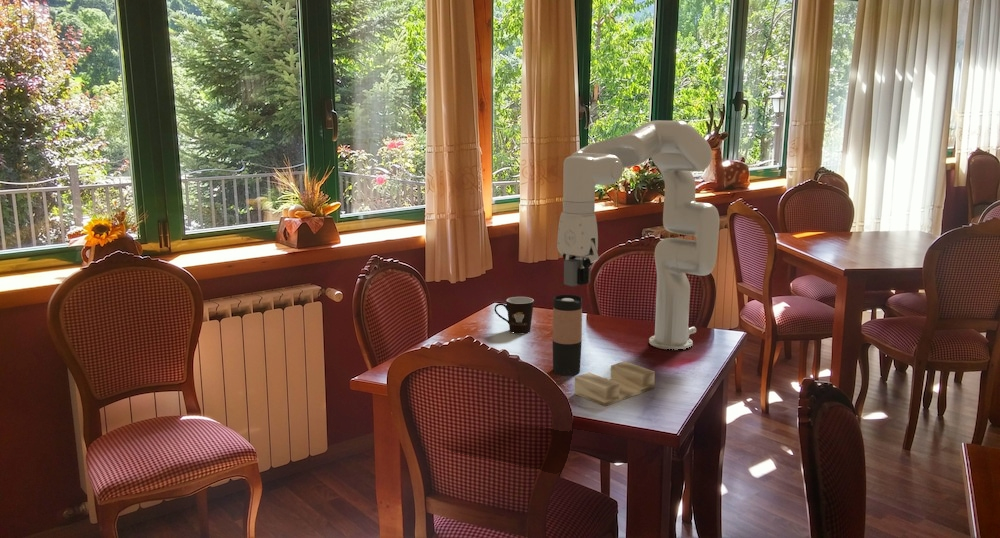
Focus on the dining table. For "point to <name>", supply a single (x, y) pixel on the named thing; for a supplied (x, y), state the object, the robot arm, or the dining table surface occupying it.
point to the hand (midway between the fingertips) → (577, 281)
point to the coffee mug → (518, 313)
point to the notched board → (615, 383)
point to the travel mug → (567, 334)
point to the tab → (572, 272)
